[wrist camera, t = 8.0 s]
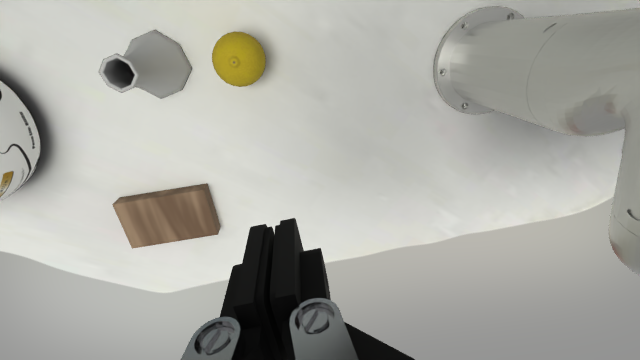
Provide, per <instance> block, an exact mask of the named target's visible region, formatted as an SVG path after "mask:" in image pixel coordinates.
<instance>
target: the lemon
mask: <svg viewBox="0 0 640 360" xmlns="http://www.w3.org/2000/svg"><path fill="white" fill-rule="evenodd" d="M212 62H213V66H214V69H215V70H216V72H217V74H218V75H219V76H220V78H221V79H222V80H224V81H225V82H226V83H228V84H231V85H233V86H239V87H242V86H248V85H251V84H253V83H254V82H256V81H257V80H258V79H259V78H260V77H261V76H262V74H263V71H264V69H265V63H266V61H265V54H264V51H263V48H262V47H261V45H260V43H259V42H258V41H257V40H256V39H255V38H254V37H252V36H250V35H249V34H246V33H243V32H231V33H228V34H226V35H224V36H222V37H221V38H220V39H219V40H218V41H217V43H216V44H215V46H214V49H213V53H212Z"/></svg>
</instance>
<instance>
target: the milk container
mask: <svg viewBox="0 0 640 360" xmlns="http://www.w3.org/2000/svg"><path fill="white" fill-rule="evenodd" d="M39 158H40V136H39V132H38V129H37V126H36V124H35V121H34V119H33V116H32V114H31V113H30V111H29V110H28V108H27V107H26V106H25V104H24V103H23V102H22V100H21V99H20V98H19V97H18V95H17V94H16V93H15V92H14V91H13V90H12V89H11V88H9V87H8V86H7V85H6V84H4V83H3V82H2V81H1V80H0V201H1V200H3V199H5V198H6V197H8V196H10V195H11V194H12V193H14V192H15V191H16V190H18V189H19V188H20V187H21V186H22V185H23V184H24V183H25V182H26V181H27V180H28V179H29V178H30V177H31V176H32V174H33V173H34V171H35V169H36V167H37V164H38V161H39Z"/></svg>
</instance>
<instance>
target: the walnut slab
mask: <svg viewBox="0 0 640 360" xmlns="http://www.w3.org/2000/svg"><path fill="white" fill-rule="evenodd" d="M112 205H113V207H114V209H115V211H116V214H117V216H118V218H119V220H120V222H121V225H122V227H123V229H124V231H125V234H126V236H127V238H128V240H129V242H130V245H131V247H132V248H138V247H144V246H150V245H156V244H162V243H168V242H175V241H181V240H187V239H193V238H199V237H205V236H211V235H218V232H219V230H220V223H219V220H218V217H217V213H216V210H215V207H214V204H213V200H212V197H211V194H210V191H209V187H208V184H201V185H195V186H189V187H182V188H176V189H170V190H164V191H158V192H151V193H145V194H139V195H133V196H126V197H120V198H119V199H118V200H117V201H116V202H115V203H113V204H112Z"/></svg>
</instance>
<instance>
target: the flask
mask: <svg viewBox="0 0 640 360" xmlns="http://www.w3.org/2000/svg"><path fill="white" fill-rule="evenodd" d="M191 69H192V68H191V66H190V64H189V62H188V60H187V58H186V56H185V54H184V53H183V51H182V49H181V47H180V45H179V44H178V43H176V42H175V41H173V40H171V39H169V38H168V37H166V36H164V35H163V34H161V33H159V32H158V31H156V30H153V31H150V32H148V33H146V34H144V35H141V36H139V37H137V38H135V39H132V40H131V42H130V45H129V47H128V49H127V51H126V52H125V54H124V56H121V55H119V54H114V55H112V56H109V57H107V58H105V59H103V61H102V64H101V67H100V69H99V74H100V75H101V77H102V78H103V80H104V81H105V83H106V84H107V86H109V87H111V88H113V89H115V90H117V91H119V92H121V93H123V92H125V91H128V90H130V89H132V88H134V87H138V88H141V89H143V90H145V91H147V92H149V93H151V94H153V95H155V96H156V97H158V98H160V99H162V98H164V97H167V96H169V95H171V94H174V93H176V92H178V91H181V90H182V89H183V87H184V85H185V83H186V80H187V78H188V76H189V74H190V72H191Z"/></svg>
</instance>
